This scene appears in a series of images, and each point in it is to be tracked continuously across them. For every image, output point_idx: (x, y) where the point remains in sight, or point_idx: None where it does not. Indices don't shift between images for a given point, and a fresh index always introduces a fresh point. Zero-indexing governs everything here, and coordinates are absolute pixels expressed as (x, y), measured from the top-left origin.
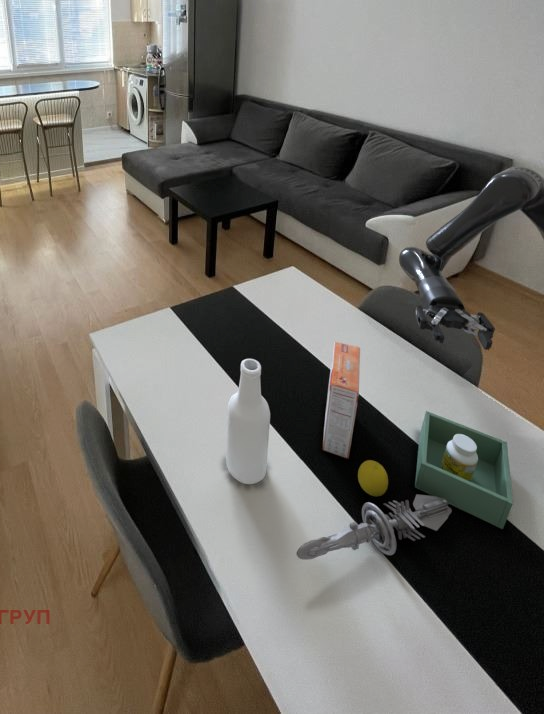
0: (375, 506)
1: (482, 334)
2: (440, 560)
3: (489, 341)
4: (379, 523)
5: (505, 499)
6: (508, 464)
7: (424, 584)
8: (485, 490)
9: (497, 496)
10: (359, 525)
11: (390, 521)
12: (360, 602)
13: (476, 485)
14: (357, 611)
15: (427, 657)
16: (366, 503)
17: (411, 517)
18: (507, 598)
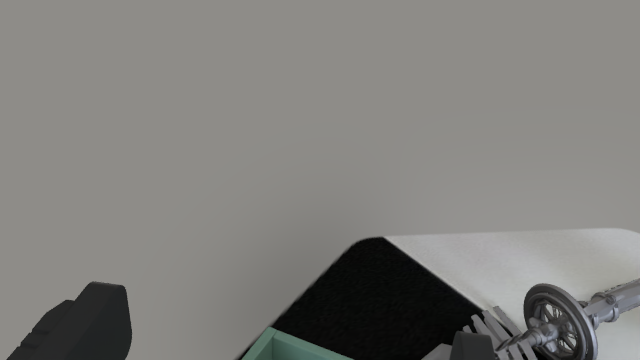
0: (582, 308)
1: (70, 352)
2: (425, 343)
3: (96, 283)
4: (560, 322)
5: (279, 333)
6: None
7: (462, 314)
8: (316, 347)
9: (295, 337)
10: (602, 307)
11: (534, 336)
12: None
13: (333, 356)
14: (566, 284)
15: (473, 257)
16: (596, 337)
17: None
18: (332, 307)
